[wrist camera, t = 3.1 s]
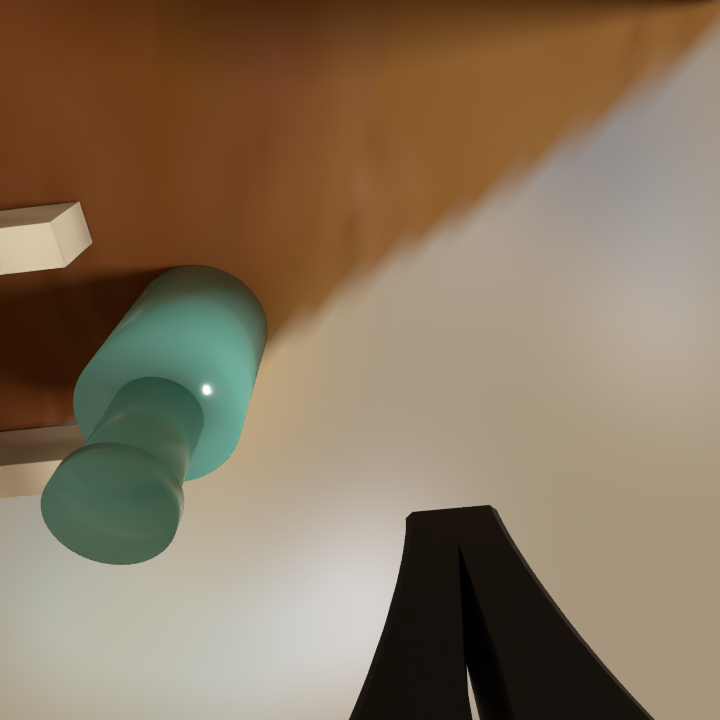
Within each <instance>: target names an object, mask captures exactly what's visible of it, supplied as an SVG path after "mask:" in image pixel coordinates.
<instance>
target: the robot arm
mask: <svg viewBox="0 0 720 720" xmlns="http://www.w3.org/2000/svg"><path fill="white" fill-rule="evenodd" d="M467 668H468V672H469V676H470V681H471V685H472V689H473V693H474V697H475V701H476V705H477V710H478V714H479V718H480V720H654V719H653V717H652V716H651V715H650V714H649V713H648V712H647V711H646V710H645V709H644V708H643V707H642V706H641V705H640V704H639V703H638V702H637V701H636V699H635V698H634V697H633V696H632V695H631V694H630V693H629V692H628V691H627V690H626V689H625V687H624V686H623V685H622V684H621V683H620V682H619V681H618V680H617V678H616V677H615V676H614V675H613V674H612V673H611V672H610V670H609V669H608V668H607V667H606V666H605V665H604V664H603V662H602V661H601V660H600V659H599V657H598V656H597V655H596V654H595V653H594V652H593V650H592V649H591V648H590V647H589V645H588V644H587V643H586V642H585V641H584V639H583V638H582V637H581V636H580V634H579V633H578V632H577V631H576V629H575V628H574V627H573V626H572V624H571V623H570V622H569V620H568V619H567V618H566V617H565V615H564V614H563V613H562V611H561V610H560V608H559V607H558V606H557V604H556V603H555V602H554V600H553V599H552V598H551V596H550V595H549V593H548V592H547V591H546V589H545V588H544V587H543V585H542V584H541V582H540V581H539V580H538V578H537V577H536V575H535V574H534V572H533V571H532V569H531V568H530V566H529V565H528V563H527V562H526V560H525V559H524V557H523V556H522V554H521V553H520V551H519V549H518V548H517V546H516V545H515V543H514V541H513V540H512V538H511V536H510V535H509V533H508V531H507V529H506V527H505V526H504V524H503V522H502V520H501V518H500V516H499V514H498V512H497V510H496V509H494V508H493V507H492V506H490V505H485V506H473V507H462V508H451V509H440V510H429V511H418V512H412V513H411V514H410V515H409V516H408V517H407V518H406V535H405V543H404V550H403V555H402V561H401V565H400V570H399V575H398V579H397V583H396V587H395V591H394V594H393V598H392V601H391V605H390V609H389V612H388V616H387V619H386V622H385V626H384V629H383V632H382V635H381V638H380V640H379V643H378V646H377V649H376V652H375V655H374V657H373V660H372V663H371V666H370V669H369V671H368V674H367V677H366V680H365V682H364V685H363V687H362V690H361V692H360V695H359V697H358V700H357V702H356V704H355V707H354V709H353V712H352V714H351V716H350V719H349V720H472V714H471V708H470V702H469V696H468V682H467Z"/></svg>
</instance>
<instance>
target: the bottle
mask: <svg viewBox="0 0 720 720" xmlns="http://www.w3.org/2000/svg"><path fill="white" fill-rule="evenodd" d="M266 340H267V321H266V317H265V313H264V311H263V308H262V306H261V304H260V302H259V301H258V299H257V297H256V296H255V295H254V293H253V292H252V291H251V290H250V289H249V288H248V287H247V286H246V285H245V284H244V283H243V282H241V281H240V280H239V279H237V278H236V277H234V276H233V275H231V274H229V273H227V272H225V271H222V270H220V269H216V268H213V267H208V266H202V265H186V266H180V267H176V268H173V269H170V270H168V271H166V272H164V273H162V274H160V275H159V276H157V277H156V278H155V279H153V280H152V281H151V282H150V283H149V284H148V286H147V287H146V288H145V289H144V291H143V292H142V293H141V295H140V296H139V297H138V299H137V300H136V301H135V303H134V304H133V305H132V307H131V308H130V309H129V311H128V312H127V313H126V315H125V316H124V317H123V318H122V320H121V321H120V322H119V324H118V325H117V326H116V328H115V329H114V330H113V332H112V333H111V334H110V336H109V337H108V338H107V340H106V341H105V342H104V344H103V345H102V346H101V348H100V349H99V350H98V352H97V353H96V354H95V356H94V357H93V358H92V360H91V361H90V362H89V363H88V365H87V366H86V367H85V369H84V370H83V371H82V373H81V375H80V377H79V379H78V381H77V384H76V386H75V390H74V396H73V408H74V415H75V418H76V422H77V425H78V427H79V429H80V431H81V433H82V435H83V437H84V438H85V440H86V443H85V444H84V446H83V447H81V448H78V449H76V450H75V451H73V452H71V453H70V454H69V455H67V456H66V457H65V458H64V459H63V460H62V462H61V463H60V464H59V466H58V467H57V469H56V470H55V472H54V473H53V475H52V476H51V478H50V479H49V481H48V483H47V484H46V486H45V488H44V490H43V493H42V497H41V511H42V516H43V518H44V521H45V523H46V525H47V527H48V529H49V530H50V531H51V533H52V534H53V535H54V536H55V537H56V538H57V540H59V541H60V542H61V543H62V544H63V545H64V546H66V547H67V548H68V549H70V550H71V551H73V552H75V553H77V554H78V555H81V556H83V557H85V558H88V559H90V560H93V561H97V562H101V563H107V564H115V565H127V564H128V565H129V564H136V563H140V562H144V561H147V560H149V559H152V558H153V557H155V556H157V555H159V554H160V553H161V552H163V551H164V550H165V549H166V548H167V547H168V546H169V544H170V543H171V541H172V540H173V538H174V536H175V533H176V530H177V527H178V524H179V522H180V518H181V515H182V513H183V509H184V494H183V490H182V485H183V482H184V481H188V480H192V479H196V478H199V477H202V476H204V475H207V474H209V473H210V472H212V471H214V470H216V469H217V468H218V467H219V466H221V465H222V464H223V463H224V462H225V461H226V460H227V459H228V458H229V457H230V455H231V454H232V453H233V451H234V449H235V447H236V445H237V443H238V440H239V437H240V434H241V430H242V427H243V423H244V420H245V416H246V412H247V409H248V405H249V402H250V398H251V395H252V391H253V388H254V384H255V380H256V377H257V373H258V370H259V366H260V363H261V359H262V355H263V352H264V348H265V345H266Z"/></svg>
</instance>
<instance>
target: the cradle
mask: <svg viewBox="0 0 720 720" xmlns="http://www.w3.org/2000/svg"><path fill="white" fill-rule="evenodd" d="M90 244H92V240H91V237H90V234H89V231H88V227H87V224H86V221H85V218H84V215H83V212H82V209H81V206H80V202H70V203H62V204H54V205H45V206H37V207H29V208H21V209H12V210H4V211H0V275H1V274H10V273H19V272H28V271H36V270H45V269H54V268H62V267H66V266H67V265H68V264H69V263H70V262H71V261H73V260H74V259H75V258H76V257H77V256H78V255H79V254H80V253H81V252H83V251H84V250H85V249H86V248H87V247H88V246H89V245H90ZM85 443H86V440H85V438H84V437H83V435H82V433H81V431H80V429H79V427H78V425H77V424H75V425H65V426H55V427H45V428H36V429H26V430H16V431H6V432H0V498H4V497H15V496H25V495H36V494H42V493H43V490H44V488H45V486H46V484H47V483H48V481H49V479H50V478H51V476H52V475H53V473H54V472H55V470H56V469H57V467H58V466H59V464H60V463H61V462H62V460H63V459H64V458H65V457H66V456H67V455H69V454H70V453H71V452H73V451H75V450H76V449H78V448H81V447H83V446H84V444H85Z"/></svg>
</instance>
